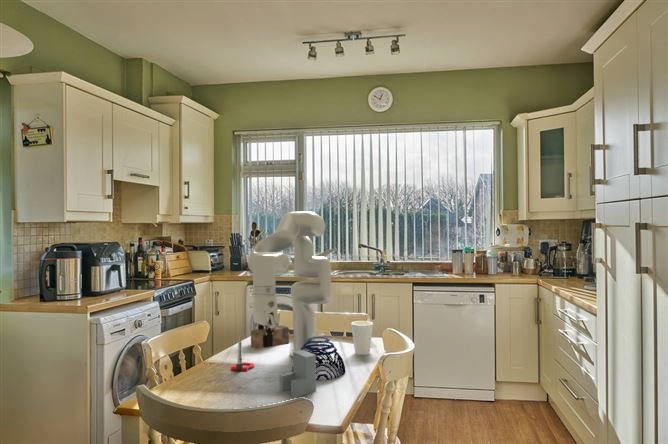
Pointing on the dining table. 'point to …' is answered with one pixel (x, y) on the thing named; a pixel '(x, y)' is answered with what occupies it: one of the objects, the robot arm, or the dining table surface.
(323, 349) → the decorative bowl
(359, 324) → the foam cup
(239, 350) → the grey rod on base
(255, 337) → the brown wooden block
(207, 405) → the dining table surface
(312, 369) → the grey stepped block
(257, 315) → the robot arm
